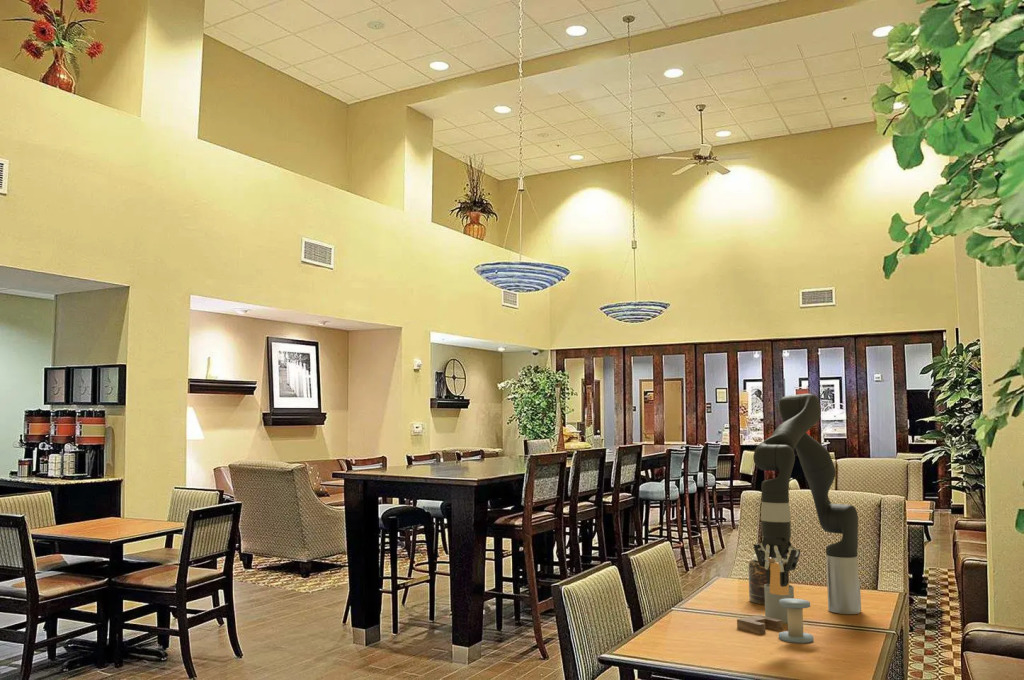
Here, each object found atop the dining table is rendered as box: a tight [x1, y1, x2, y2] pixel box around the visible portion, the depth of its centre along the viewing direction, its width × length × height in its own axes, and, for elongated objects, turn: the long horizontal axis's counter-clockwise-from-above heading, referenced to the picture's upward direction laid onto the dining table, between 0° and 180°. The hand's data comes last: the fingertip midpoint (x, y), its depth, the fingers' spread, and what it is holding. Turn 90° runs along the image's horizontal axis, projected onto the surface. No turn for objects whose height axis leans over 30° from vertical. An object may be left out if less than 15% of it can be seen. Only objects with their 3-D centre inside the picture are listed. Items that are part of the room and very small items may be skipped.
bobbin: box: [778, 597, 814, 644], centre depth 224 cm, size 9×9×10 cm
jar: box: [748, 553, 777, 606], centre depth 272 cm, size 12×12×15 cm
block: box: [770, 562, 790, 595], centre depth 219 cm, size 4×4×8 cm
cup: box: [764, 584, 795, 624], centre depth 246 cm, size 8×8×10 cm
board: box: [736, 614, 784, 635], centre depth 235 cm, size 10×8×2 cm
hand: (777, 584), depth 218 cm, fingers closed on block, 3 cm apart
